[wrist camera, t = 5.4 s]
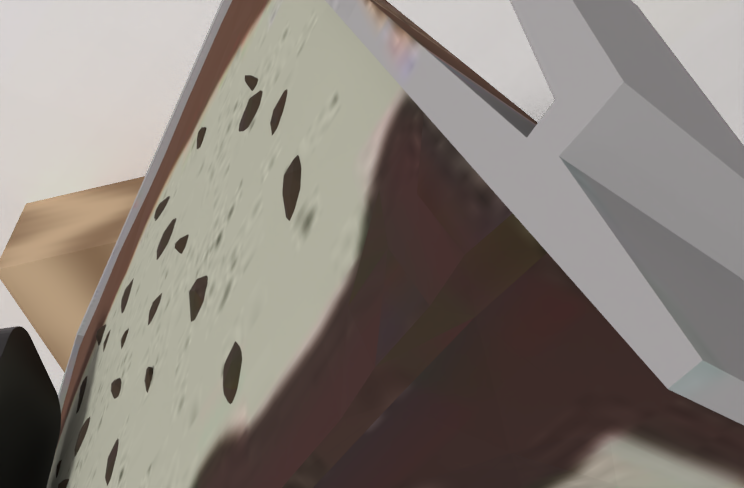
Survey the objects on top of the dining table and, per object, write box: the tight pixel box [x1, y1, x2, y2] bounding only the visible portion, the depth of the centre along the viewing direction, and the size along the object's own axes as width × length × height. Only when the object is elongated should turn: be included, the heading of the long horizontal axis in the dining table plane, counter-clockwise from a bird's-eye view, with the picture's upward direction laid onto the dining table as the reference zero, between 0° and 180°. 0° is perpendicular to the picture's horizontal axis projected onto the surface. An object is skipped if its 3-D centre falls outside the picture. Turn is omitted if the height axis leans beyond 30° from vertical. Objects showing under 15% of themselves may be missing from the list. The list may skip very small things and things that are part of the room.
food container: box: [47, 0, 744, 488], centre depth 9 cm, size 12×6×10 cm, turn 150°
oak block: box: [0, 177, 145, 372], centre depth 29 cm, size 10×10×5 cm
